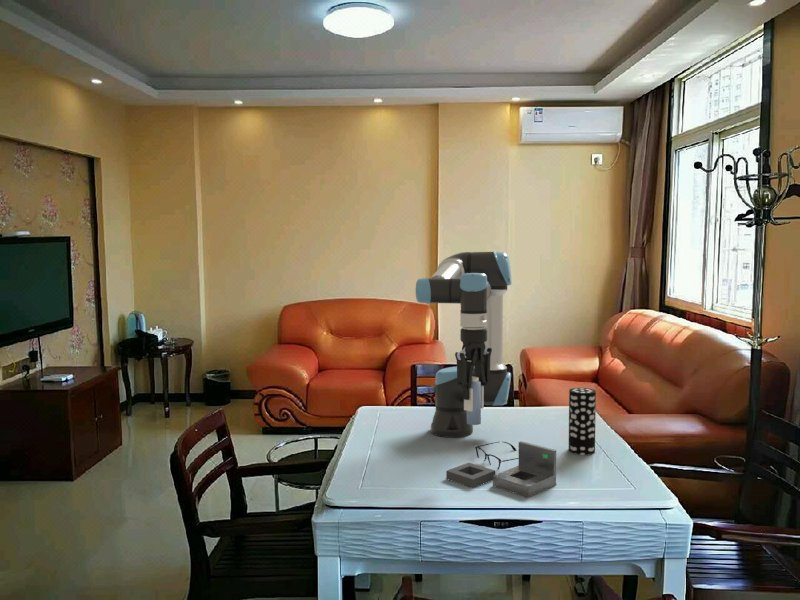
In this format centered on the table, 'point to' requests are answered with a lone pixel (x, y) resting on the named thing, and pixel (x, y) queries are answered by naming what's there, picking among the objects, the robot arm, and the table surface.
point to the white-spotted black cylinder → (582, 421)
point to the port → (529, 471)
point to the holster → (476, 474)
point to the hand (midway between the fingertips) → (473, 408)
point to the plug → (475, 403)
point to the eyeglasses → (493, 455)
